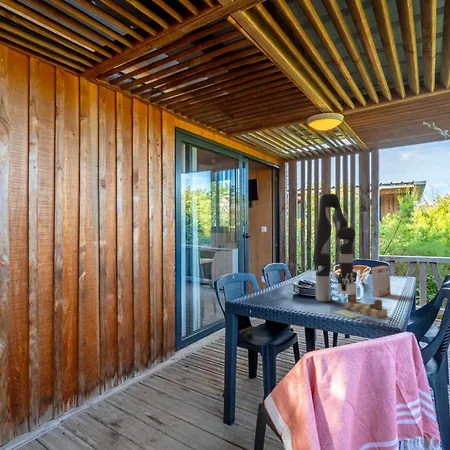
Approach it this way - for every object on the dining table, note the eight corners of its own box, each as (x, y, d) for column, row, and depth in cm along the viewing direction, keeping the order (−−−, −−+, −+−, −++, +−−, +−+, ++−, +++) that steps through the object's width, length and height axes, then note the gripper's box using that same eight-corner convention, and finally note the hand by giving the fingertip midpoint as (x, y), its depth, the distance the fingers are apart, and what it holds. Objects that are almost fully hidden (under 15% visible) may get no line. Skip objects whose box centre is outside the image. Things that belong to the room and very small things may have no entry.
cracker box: (383, 293, 235) (382, 265, 235) (391, 294, 230) (390, 266, 230) (371, 295, 228) (371, 267, 228) (379, 297, 223) (378, 268, 223)
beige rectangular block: (338, 291, 187) (338, 279, 187) (344, 290, 189) (344, 279, 189) (350, 294, 179) (349, 282, 179) (356, 293, 181) (356, 281, 181)
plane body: (344, 308, 198) (344, 290, 198) (354, 306, 201) (353, 289, 201) (377, 318, 176) (376, 298, 176) (387, 316, 179) (386, 297, 179)
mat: (333, 312, 189) (333, 311, 189) (344, 310, 192) (344, 309, 192) (351, 318, 176) (351, 317, 176) (363, 316, 180) (363, 315, 180)
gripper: (350, 259, 191) (351, 287, 191) (332, 261, 185) (333, 290, 185) (360, 261, 184) (361, 290, 184) (341, 262, 178) (342, 292, 178)
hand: (347, 290), depth 184 cm, fingers closed on beige rectangular block, 5 cm apart
